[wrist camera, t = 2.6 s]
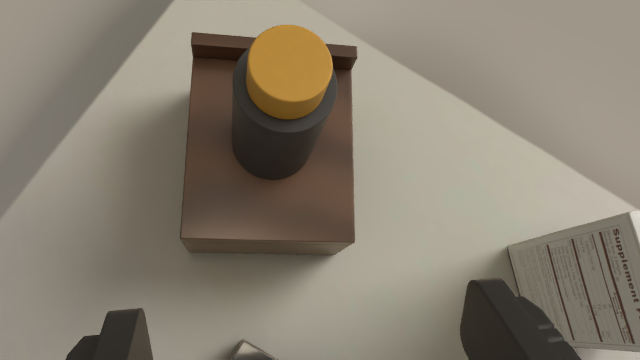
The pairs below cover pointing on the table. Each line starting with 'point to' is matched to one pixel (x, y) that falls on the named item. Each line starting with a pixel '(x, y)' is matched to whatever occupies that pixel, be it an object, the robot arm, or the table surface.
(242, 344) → the hob
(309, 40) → the spice bottle
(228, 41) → the spice shelf
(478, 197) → the table surface
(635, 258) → the white packaging box
